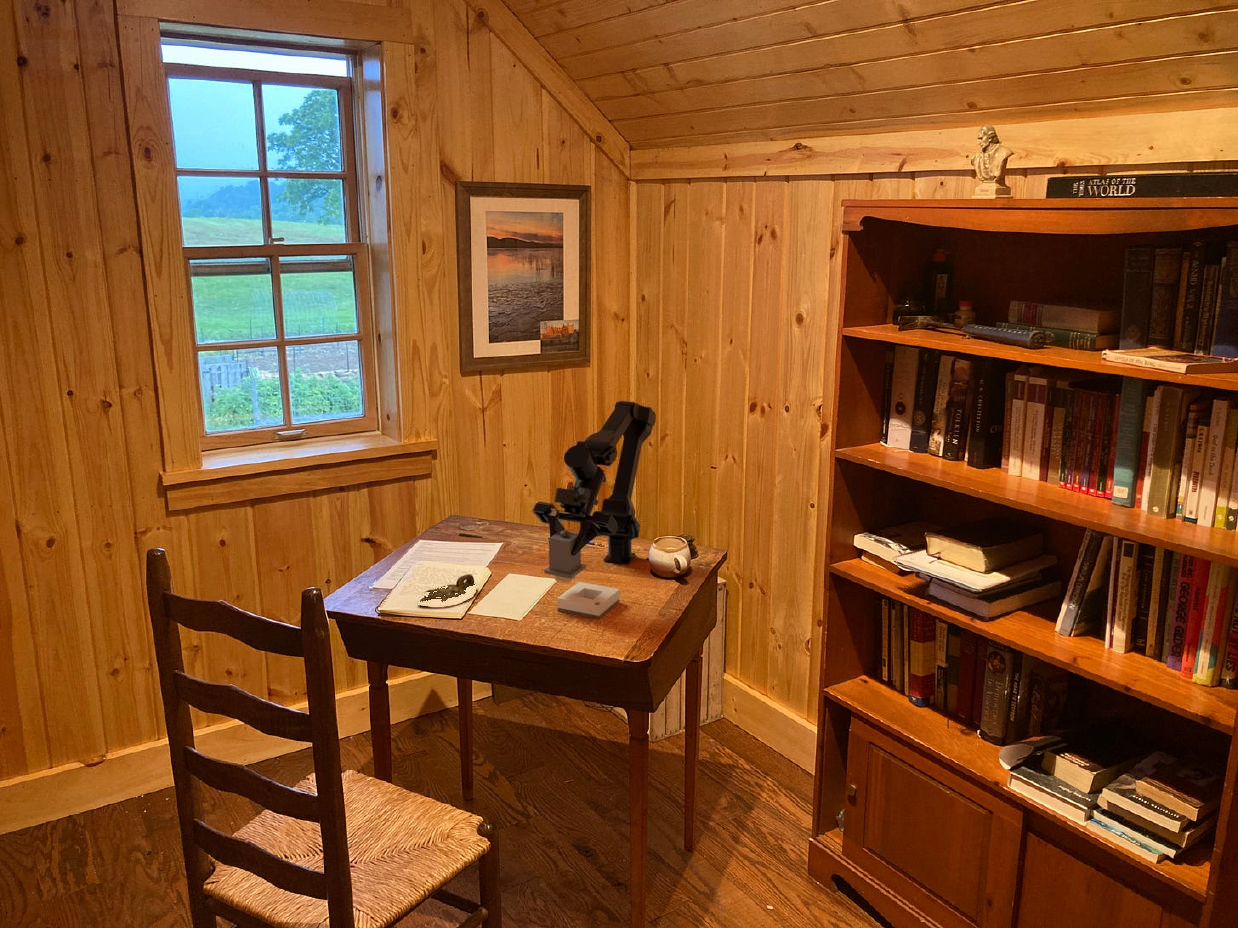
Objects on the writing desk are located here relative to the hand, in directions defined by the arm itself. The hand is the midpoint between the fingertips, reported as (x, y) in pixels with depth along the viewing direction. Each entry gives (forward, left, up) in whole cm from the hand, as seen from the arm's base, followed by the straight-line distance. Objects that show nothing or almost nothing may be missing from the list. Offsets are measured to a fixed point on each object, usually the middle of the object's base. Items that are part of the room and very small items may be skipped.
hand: (561, 552), depth 212 cm
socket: (-2, +5, -12) cm, 14 cm away
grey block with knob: (-1, 0, -7) cm, 7 cm away
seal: (+3, -26, -13) cm, 29 cm away
